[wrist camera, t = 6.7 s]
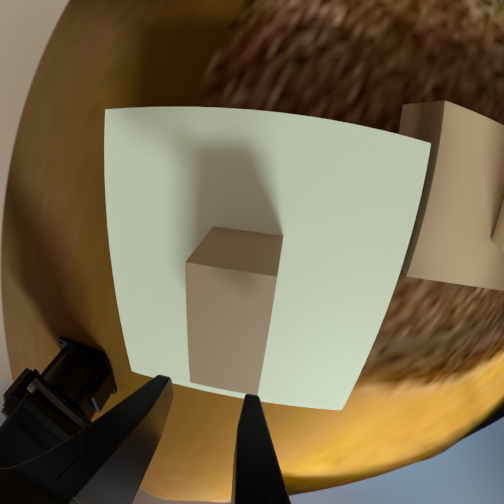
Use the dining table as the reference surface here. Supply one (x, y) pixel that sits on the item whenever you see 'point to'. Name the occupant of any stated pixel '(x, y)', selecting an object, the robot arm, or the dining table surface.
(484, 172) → the beige rectangular tray
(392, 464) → the dining table surface
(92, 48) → the dining table surface
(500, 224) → the beige rectangular block
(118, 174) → the lid
